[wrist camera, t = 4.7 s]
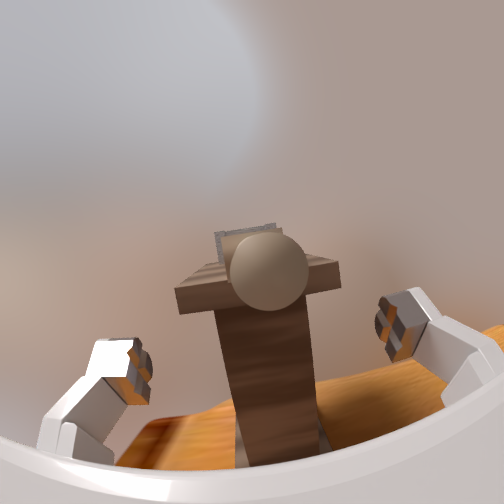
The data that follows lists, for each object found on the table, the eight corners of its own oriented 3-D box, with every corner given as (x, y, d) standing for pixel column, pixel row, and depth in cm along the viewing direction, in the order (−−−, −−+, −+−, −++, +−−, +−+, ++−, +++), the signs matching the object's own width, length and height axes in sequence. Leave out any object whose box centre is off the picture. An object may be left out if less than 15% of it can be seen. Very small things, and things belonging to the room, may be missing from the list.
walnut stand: (345, 489, 22) (338, 261, 20) (238, 508, 21) (174, 287, 20) (309, 405, 41) (291, 250, 40) (238, 417, 41) (206, 264, 40)
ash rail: (335, 306, 9) (323, 215, 9) (215, 327, 9) (199, 234, 9) (266, 257, 35) (262, 232, 34) (233, 262, 34) (229, 238, 34)
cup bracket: (280, 254, 35) (275, 222, 35) (219, 264, 35) (214, 232, 35) (275, 252, 40) (271, 224, 40) (222, 261, 40) (217, 233, 40)
